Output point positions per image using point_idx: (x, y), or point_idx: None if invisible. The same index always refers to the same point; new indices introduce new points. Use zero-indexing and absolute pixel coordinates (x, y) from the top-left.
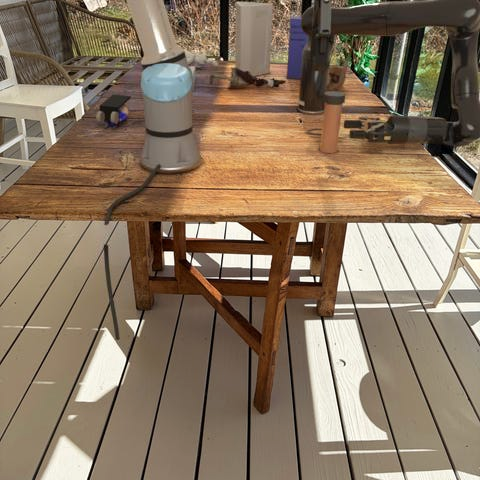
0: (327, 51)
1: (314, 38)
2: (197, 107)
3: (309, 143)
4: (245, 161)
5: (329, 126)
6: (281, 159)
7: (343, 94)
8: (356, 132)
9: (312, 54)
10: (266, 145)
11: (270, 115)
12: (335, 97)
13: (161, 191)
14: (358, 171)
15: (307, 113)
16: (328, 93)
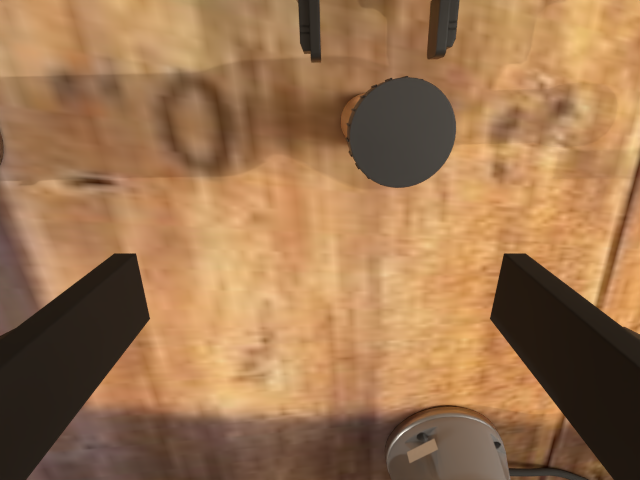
0: (597, 311)
1: (62, 398)
2: (56, 441)
3: (308, 172)
4: (441, 329)
5: None
6: (432, 253)
7: (418, 88)
8: (450, 30)
9: (140, 313)
10: (333, 285)
11: (62, 271)
12: (453, 138)
13: (568, 445)
14: (538, 49)
15: (1, 152)
16: (397, 167)
